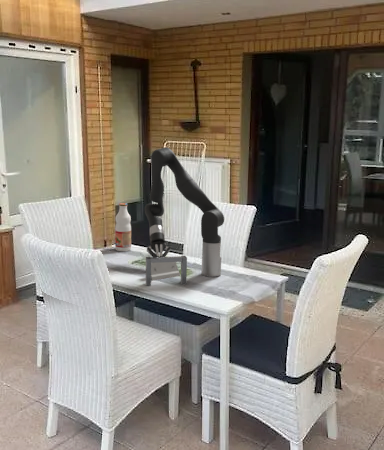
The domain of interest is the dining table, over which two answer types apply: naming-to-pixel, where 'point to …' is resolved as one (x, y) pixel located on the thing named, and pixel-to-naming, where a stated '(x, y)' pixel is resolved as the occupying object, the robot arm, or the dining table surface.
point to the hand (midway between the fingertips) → (160, 263)
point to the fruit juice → (123, 229)
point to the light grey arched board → (164, 270)
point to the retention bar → (166, 259)
